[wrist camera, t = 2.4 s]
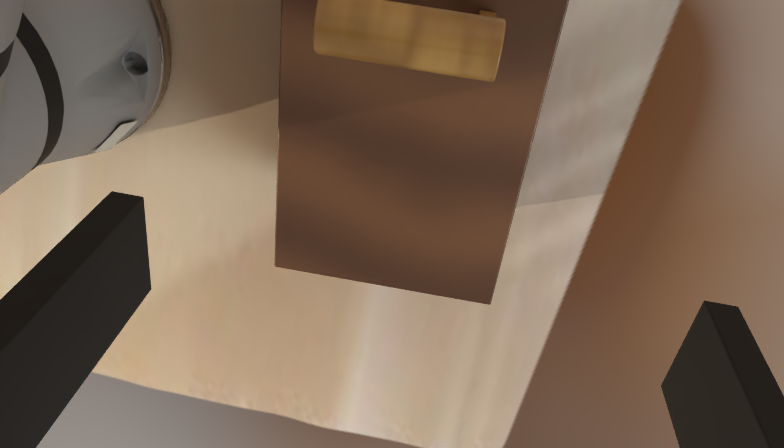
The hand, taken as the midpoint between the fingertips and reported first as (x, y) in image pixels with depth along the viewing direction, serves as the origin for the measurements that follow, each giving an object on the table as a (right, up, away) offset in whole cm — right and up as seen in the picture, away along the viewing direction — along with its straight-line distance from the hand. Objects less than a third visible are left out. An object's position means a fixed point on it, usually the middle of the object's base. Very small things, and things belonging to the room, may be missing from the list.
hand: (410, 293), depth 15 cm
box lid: (0, +6, +15) cm, 16 cm away
